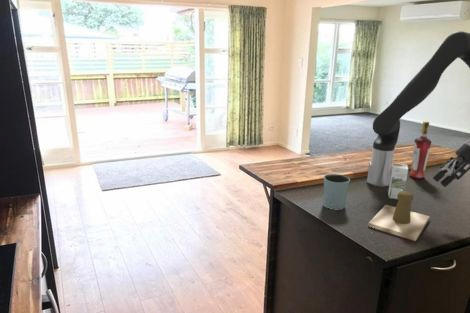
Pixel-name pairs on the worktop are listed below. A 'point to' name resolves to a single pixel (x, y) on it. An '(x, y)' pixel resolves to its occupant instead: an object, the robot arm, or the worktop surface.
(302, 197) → the worktop surface
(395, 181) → the syrup box
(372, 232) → the worktop surface
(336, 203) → the blue-grey cup
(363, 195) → the worktop surface
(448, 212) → the worktop surface
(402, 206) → the cork
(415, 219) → the birch board
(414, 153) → the liquor
